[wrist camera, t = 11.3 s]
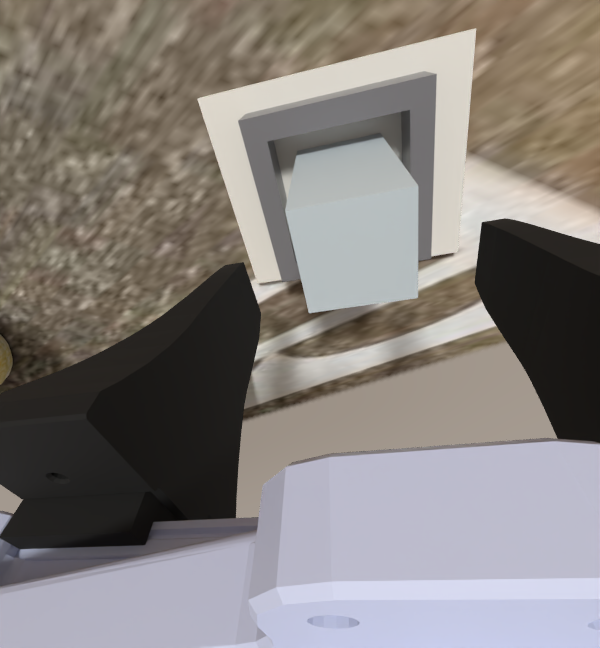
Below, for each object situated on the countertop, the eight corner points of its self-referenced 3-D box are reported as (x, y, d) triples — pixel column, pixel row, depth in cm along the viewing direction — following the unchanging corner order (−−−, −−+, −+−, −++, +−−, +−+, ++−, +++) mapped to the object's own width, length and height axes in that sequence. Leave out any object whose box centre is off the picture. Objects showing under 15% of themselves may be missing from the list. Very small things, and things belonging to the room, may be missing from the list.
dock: (471, 29, 14) (496, 26, 12) (455, 248, 20) (469, 269, 18) (200, 97, 16) (184, 104, 14) (258, 279, 22) (253, 301, 20)
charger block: (380, 132, 16) (418, 185, 10) (384, 214, 19) (417, 297, 13) (297, 150, 17) (285, 210, 11) (311, 227, 19) (308, 313, 13)
